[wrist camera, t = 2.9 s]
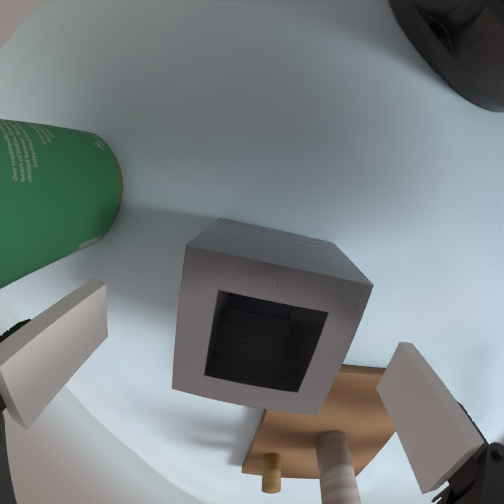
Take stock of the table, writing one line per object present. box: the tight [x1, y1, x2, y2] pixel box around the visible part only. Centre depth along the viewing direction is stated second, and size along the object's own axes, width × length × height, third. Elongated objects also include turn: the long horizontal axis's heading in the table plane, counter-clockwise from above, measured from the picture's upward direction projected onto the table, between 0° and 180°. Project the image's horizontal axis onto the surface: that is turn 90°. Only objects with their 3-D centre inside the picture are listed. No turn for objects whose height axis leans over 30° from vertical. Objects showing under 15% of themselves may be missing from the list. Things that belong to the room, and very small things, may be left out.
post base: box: [242, 364, 396, 504], centre depth 16 cm, size 16×13×9 cm
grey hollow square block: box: [172, 218, 373, 415], centre depth 15 cm, size 11×7×7 cm, turn 168°
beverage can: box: [0, 119, 122, 289], centre depth 11 cm, size 8×8×12 cm
